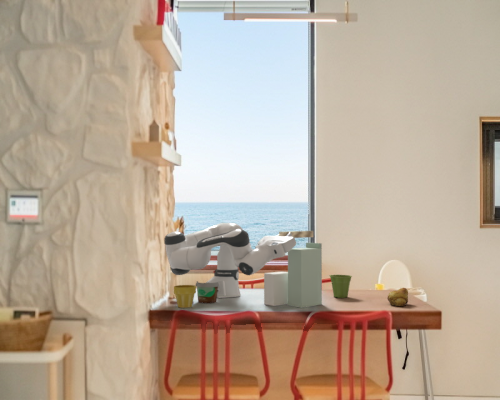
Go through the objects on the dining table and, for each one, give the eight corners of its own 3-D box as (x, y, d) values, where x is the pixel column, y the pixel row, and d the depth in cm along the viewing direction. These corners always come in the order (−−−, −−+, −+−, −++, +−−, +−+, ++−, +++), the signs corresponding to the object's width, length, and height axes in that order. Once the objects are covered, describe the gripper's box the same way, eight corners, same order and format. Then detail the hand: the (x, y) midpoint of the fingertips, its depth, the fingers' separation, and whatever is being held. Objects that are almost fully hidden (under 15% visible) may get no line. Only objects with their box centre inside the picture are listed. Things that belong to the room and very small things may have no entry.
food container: (191, 302, 253) (191, 282, 254) (196, 300, 259) (196, 281, 259) (213, 304, 249) (214, 283, 249) (219, 302, 255) (219, 282, 255)
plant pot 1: (175, 304, 248) (175, 284, 248) (197, 305, 247) (197, 284, 248) (171, 308, 237) (171, 287, 238) (194, 308, 237) (194, 287, 237)
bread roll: (408, 307, 240) (408, 290, 240) (387, 306, 243) (387, 289, 243) (408, 303, 252) (407, 287, 253) (387, 302, 255) (387, 286, 255)
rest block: (274, 306, 244) (273, 274, 244) (264, 304, 249) (264, 273, 250) (292, 303, 252) (291, 272, 252) (282, 301, 257) (282, 271, 258)
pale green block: (301, 307, 240) (301, 244, 240) (288, 305, 246) (287, 243, 247) (321, 304, 249) (321, 243, 249) (308, 302, 255) (308, 242, 256)
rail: (283, 238, 237) (283, 231, 237) (279, 238, 240) (279, 231, 240) (313, 237, 250) (313, 231, 250) (308, 236, 252) (308, 230, 252)
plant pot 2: (356, 298, 268) (356, 276, 268) (336, 299, 264) (336, 277, 264) (344, 294, 279) (344, 274, 279) (325, 296, 275) (325, 274, 275)
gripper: (255, 254, 242) (274, 238, 250) (286, 257, 226) (305, 240, 234) (250, 242, 240) (269, 227, 248) (280, 244, 224) (300, 228, 232)
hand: (287, 233), depth 241 cm, fingers closed on rail, 3 cm apart
